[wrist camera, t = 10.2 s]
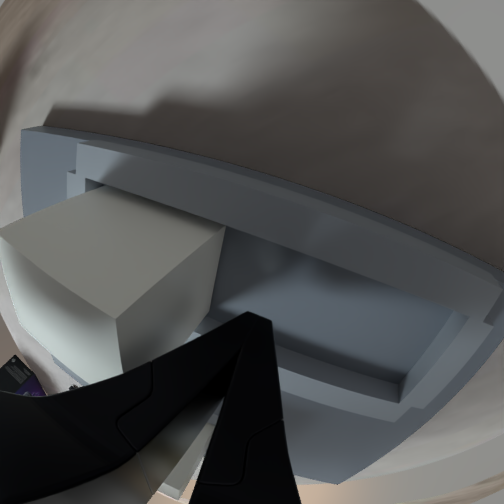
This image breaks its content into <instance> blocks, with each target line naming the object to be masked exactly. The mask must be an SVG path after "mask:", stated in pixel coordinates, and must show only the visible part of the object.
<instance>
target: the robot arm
mask: <svg viewBox="0 0 504 504" xmlns="http://www.w3.org/2000/svg"><path fill="white" fill-rule="evenodd" d="M223 398H224V400H223ZM222 400H223V403H222V406H221V410H220V413H219V416H218V419H217V422H216V425H215V428H214V431H213V434H212V437H211V440H210V443H209V446H208V449H207V452H206V455H205V458H204V460H203V463H202V466H201V469H200V472H199V475H198V478H197V481H196V484H195V487H194V490H193V493H192V495H191V498H190V501H189V504H301V500H300V497H299V493H298V489H297V485H296V482H295V478H294V474H293V470H292V466H291V461H290V457H289V452H288V446H287V439H286V432H285V423H284V420H283V419H284V415H283V406H282V398H281V389H280V380H279V372H278V363H277V355H276V347H275V338H274V330H273V322H272V320H270V319H268V318H265V317H263V316H260V315H258V314H255V313H252V312H250V311H246V312H244V313H242V314H240V315H238V316H237V317H235V318H233V319H231V320H229V321H227V322H225V323H224V324H222V325H220V326H218V327H216V328H214V329H212V330H210V331H208V332H207V333H205V334H203V335H201V336H199V337H197V338H195V339H193V340H191V341H189V342H187V343H185V344H183V345H181V346H179V347H177V348H175V349H173V350H171V351H169V352H167V353H165V354H163V355H161V356H159V357H157V358H155V359H153V360H152V362H151V361H148V362H146V363H144V364H142V365H140V366H138V367H136V368H134V369H131V370H129V371H127V372H124V373H122V374H120V375H117V376H114V377H111V378H108V379H105V380H102V381H99V382H96V383H93V384H89V385H86V386H83V387H79V388H76V389H75V388H74V387H73V386H71V387H70V388H69V391H65V392H61V393H58V394H53V395H48V396H25V395H20V394H15V393H10V392H5V391H1V390H0V504H147V502H148V501H149V500H150V499H151V497H152V495H153V494H155V492H156V491H157V490H158V488H159V487H160V486H161V485H162V483H163V482H164V481H165V479H166V478H167V477H168V475H169V474H170V473H171V471H172V470H173V469H174V468H175V466H176V465H177V463H178V462H179V461H180V459H181V458H182V457H183V455H184V454H185V453H186V451H187V450H188V449H189V447H190V446H191V444H192V443H193V442H194V440H195V439H196V437H197V436H198V435H199V433H200V432H201V430H202V429H203V428H204V426H205V425H206V423H207V422H208V420H209V419H210V417H211V416H212V415H213V413H214V412H215V410H216V409H217V407H218V406H219V404H220V403H221V401H222Z"/></svg>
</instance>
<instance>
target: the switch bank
mask: <svg viewBox="0 0 504 504" xmlns="http://www.w3.org/2000/svg"><path fill="white" fill-rule="evenodd" d="M20 164H21V191H22V205H23V215H24V217H26V216H28V215H31V214H33V213H35V212H37V211H40V210H42V209H45V208H47V207H49V206H52V205H54V204H57V203H59V202H62V201H64V200H67V199H69V198H72V197H75V196H77V195H80V194H83V193H85V192H88V191H91V190H94V189H97V188H99V187H102V186H105V185H109V186H112V187H115V188H118V189H121V190H124V191H127V192H130V193H133V194H136V195H139V196H142V197H145V198H148V199H151V200H154V201H157V202H160V203H163V204H166V205H169V206H172V207H174V208H177V209H180V210H183V211H186V212H189V213H192V214H195V215H198V216H200V217H203V218H206V219H209V220H212V221H215V222H218V223H220V224H223V225H226V229H225V233H224V238H223V243H222V248H221V253H220V258H219V263H218V268H217V273H216V278H215V283H214V288H213V294H212V299H211V304H210V310H209V312H208V313H207V315H206V316H205V317H204V318H203V320H202V321H201V322H200V324H199V325H198V326H197V327H196V329H195V330H194V331H193V333H192V334H191V335H190V337H189V338H188V339H187V340H186V342H185V343H187V342H189V341H191V340H193V339H195V338H197V337H199V336H201V335H203V334H205V333H207V332H208V331H210V330H212V329H214V328H216V327H218V326H220V325H222V324H224V323H225V322H227V321H229V320H231V319H233V318H235V317H237V316H238V315H240V314H242V313H244V312H246V311H250V312H252V313H255V314H258V315H260V316H263V317H265V318H268V319H270V320H272V322H273V330H274V338H275V347H276V355H277V363H278V372H279V380H280V389H281V398H282V406H283V415H284V419H283V420H284V423H285V432H286V439H287V446H288V452H289V457H290V461H291V466H292V470H293V474H294V475H297V476H301V477H305V478H309V479H313V480H317V481H322V482H327V483H332V484H337V485H338V484H340V483H342V482H343V481H345V480H347V479H348V478H350V477H352V476H353V475H355V474H357V473H358V472H360V471H362V470H363V469H365V468H366V467H368V466H369V465H371V464H372V463H374V462H375V461H377V460H378V459H380V458H381V457H383V456H384V455H385V454H387V453H388V452H390V451H391V450H392V449H394V448H395V447H396V446H398V445H399V444H400V443H402V442H403V441H404V440H406V439H407V438H408V437H409V436H411V435H412V434H413V433H414V432H415V431H417V430H418V429H419V428H420V427H421V426H423V425H424V424H425V423H426V422H427V421H428V420H429V419H431V418H432V417H433V416H434V415H435V414H436V413H437V412H438V411H439V410H440V409H442V408H443V407H444V406H445V405H446V404H447V403H448V402H449V401H450V400H451V399H452V398H453V397H454V396H455V395H456V394H457V393H458V392H459V391H460V390H461V389H462V388H463V387H464V385H465V384H466V383H467V382H468V381H469V380H470V379H471V378H472V377H473V376H474V374H475V373H476V372H477V371H478V370H479V369H480V368H481V366H482V365H483V364H484V363H485V362H486V360H487V359H488V358H489V357H490V355H491V354H492V353H493V352H494V350H495V349H496V348H497V346H498V345H499V344H500V342H501V341H502V340H503V338H504V272H502V271H500V270H499V269H497V268H495V267H493V266H491V265H489V264H487V263H485V262H484V261H482V260H480V259H478V258H476V257H474V256H472V255H470V254H468V253H466V252H464V251H462V250H460V249H458V248H456V247H454V246H451V245H449V244H447V243H445V242H443V241H441V240H439V239H437V238H434V237H432V236H430V235H428V234H426V233H423V232H421V231H419V230H417V229H414V228H412V227H410V226H407V225H405V224H403V223H400V222H398V221H395V220H393V219H391V218H388V217H386V216H383V215H381V214H378V213H376V212H373V211H371V210H368V209H366V208H363V207H361V206H358V205H355V204H353V203H350V202H347V201H345V200H342V199H339V198H336V197H334V196H331V195H328V194H325V193H322V192H320V191H317V190H314V189H311V188H308V187H305V186H302V185H299V184H296V183H293V182H290V181H287V180H284V179H281V178H277V177H274V176H271V175H268V174H265V173H261V172H258V171H255V170H251V169H248V168H244V167H241V166H237V165H234V164H230V163H227V162H223V161H219V160H216V159H212V158H208V157H204V156H200V155H196V154H192V153H188V152H184V151H180V150H176V149H171V148H167V147H163V146H158V145H154V144H149V143H144V142H139V141H135V140H129V139H124V138H119V137H114V136H108V135H102V134H97V133H91V132H84V131H78V130H71V129H64V128H56V127H48V126H37V127H32V128H27V129H22V130H21V152H20ZM185 343H184V344H185ZM51 355H52V354H51ZM52 358H53V360H54V363H56V364H57V365H58V366H59V367H60V368H61V369H63V370H64V371H65V372H66V373H67V374H69V375H70V376H71V377H72V378H74V379H75V380H76V381H77V382H79V383H80V384H81V385H83V386H86V385H89V384H88V383H87V382H86V381H84V380H83V379H82V378H80V377H79V376H78V375H76V374H75V373H74V372H73V371H71V370H70V369H69V368H68V367H66V366H65V365H64V364H63V363H62V362H60V361H59V360H58V359H57V358H56V357H54V356H53V355H52ZM223 400H224V398H223ZM223 400H222V401H221V403H220V404H219V406H218V407H217V409H216V410H215V412H214V413H213V415H212V416H211V417H210V419H209V420H208V423H210V424H212V425H216V422H217V419H218V416H219V413H220V410H221V406H222V403H223ZM207 449H208V448H207ZM206 452H207V450H206ZM206 452H205V454H204V455H203V457H205V455H206Z"/></svg>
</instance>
